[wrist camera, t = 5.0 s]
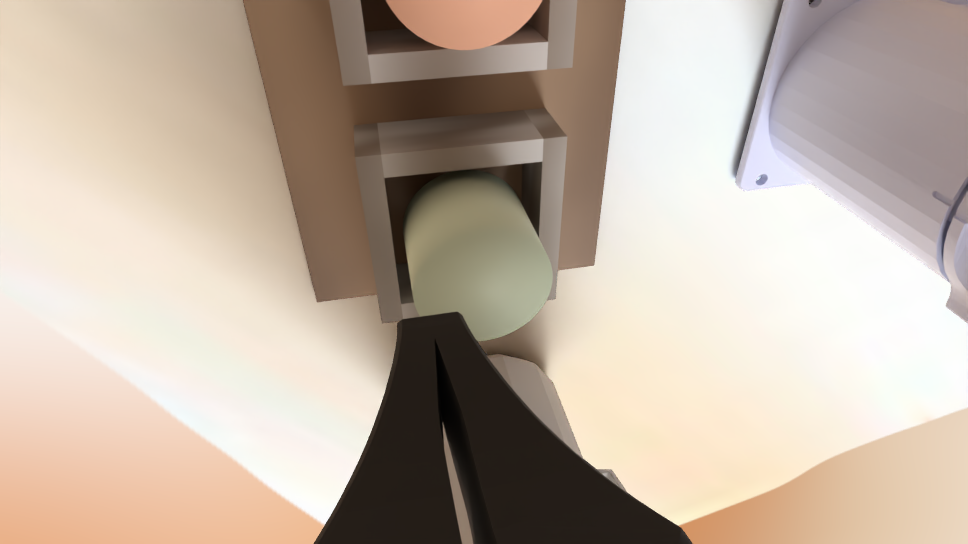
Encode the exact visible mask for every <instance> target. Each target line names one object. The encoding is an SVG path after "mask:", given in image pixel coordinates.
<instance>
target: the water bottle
mask: <svg viewBox="0 0 968 544" xmlns="http://www.w3.org/2000/svg"><path fill="white" fill-rule="evenodd" d="M487 357H488V358H489V359H490V361H491V362H492V363H493V365H494V366H495V367H496V369H497V370H498V371H499V373H500V374H501V375H502V377H503V378H504V379H505V380H506V382H507V383H508V384H509V385H510V386H511V388H512V389H513V390H514V391H515V392H516V394H517V395H518V396H519V397H520V398H521V399H522V400H523V402H524V403H525V404H526V405H527V406H528V407H529V408H530V409H531V410H532V411H533V412H534V414H535V415H536V416H537V417H538V418H539V419H540V420H541V421H542V422H543V423H544V424H545V425H546V426H547V427H548V428H549V429H550V430H551V431H552V432H554V433H555V434H556V435H557V436H558V437H559V438H560V439H561V440H562V441H563V442H564V443H565V444H567V445H568V446H569V447H570V448H571V449H572V450H573V451H574V452H576V453H577V454H578V455H579V456H580V457H582V455H581V452H580V450H579V447H578V445H577V442H576V440H575V437H574V434H573V432H572V429H571V427H570V424H569V422H568V419H567V417H566V414H565V412H564V409H563V406H562V404H561V401H560V399H559V396H558V394H557V391H556V389H555V386H554V384H553V382H552V381H551V380H550V379H549V378H548V377H547V376H546V374H545V373H544V372H543V371H542V370H541V369H540V368H539V367H538V366H537V365H536V364H535V363H533V362H530V361H527V360H523V359H519V358H515V357H510V356H506V355H502V354H494V355H488V356H487ZM443 436H444V451H445V457H446V462H447V467H448V473H449V478H450V483H451V489H452V494H453V499H454V504H455V510H456V515H457V520H458V525H459V530H460V535H461V540H462V544H473V540H472V534H471V529H470V524H469V520H468V516H467V511H466V507H465V504H464V500H463V496H462V493H461V489H460V485H459V481H458V478H457V474H456V470H455V467H454V463H453V459H452V455H451V452H450V448H449V444H448V440H447V437H446V433H445V429H444V425H443ZM582 458H583V457H582ZM597 470H598V471H599V472H600V473H602V474H603V475H604V476H605V477H607V478H608V479H609V480H610V481H612V482H613V483H615V484H616V485H617V486H619V487H620V488H621V489H623V490H624V491H626V490H625V488H624V487H623V485H622V484H621V482H620V481H619V480H618V478H617V477H616V475H615V474H614V472H613V471H612V470H607V469H597Z"/></svg>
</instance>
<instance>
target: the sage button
mask: <svg viewBox="0 0 968 544" xmlns="http://www.w3.org/2000/svg"><path fill="white" fill-rule="evenodd" d="M403 235H404V242H405V248H406V255H407V261H408V267H409V274H410V280H411V287H412V293H413V299H414V304H415V307H416V310H417V312H418V314H419V316H420V317H421V316H428V315H435V314H442V313H449V312H459V313H460V314H462V315H463V317H464V319H465V321H466V323H467V325H468V327H469V329H470V331H471V332H472V334H473V336H474V337H475V339H476V340H477V341H486V340H491V339H496V338H499V337H502V336H505V335H507V334H510V333H512V332H514V331H515V330H517V329H519V328H521V327H522V326H524V325H525V324H526V323H528V322H529V321H530V320H531V319H532V318H533V317H534V316H535V315H536V314H537V313H538V312H539V311H540V309H541V308H542V307H543V305H544V304H545V302H546V300H547V298H548V296H549V294H550V290H551V287H552V281H553V272H552V266H551V263H550V260H549V257H548V255H547V253H546V251H545V249H544V247H543V245H542V243H541V241H540V239H539V237H538V236H537V234H536V232H535V230H534V228H533V226H532V224H531V222H530V220H529V218H528V216H527V214H526V212H525V210H524V208H523V206H522V204H521V202H520V200H519V198H518V196H517V194H516V192H515V191H514V190H513V189H512V187H511V186H510V185H509V184H507V183H506V182H505V181H504V180H502V179H501V178H499V177H497V176H495V175H493V174H490V173H488V172H484V171H479V170H458V171H453V172H449V173H446V174H443V175H441V176H438V177H436V178H435V179H433V180H431V181H429V182H428V183H427V184H425V185H424V186H423V187H422V188H421V189H420V190H419V191H418V192H417V193H416V194H415V195H414V197H413V198H412V199H411V201H410V203H409V204H408V207H407V209H406V211H405V215H404V219H403Z"/></svg>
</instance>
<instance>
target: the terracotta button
mask: <svg viewBox="0 0 968 544" xmlns="http://www.w3.org/2000/svg"><path fill="white" fill-rule="evenodd" d="M542 1H543V0H386V2H387V3H388V5H389V7H390V8H391V10H392V11H393V12H394V14H395V15H396V16H397V18H398V19H399V20H400V21H401V22H402V23H403V24H404V25H405V26H406V27H407V28H408V29H409V30H411V31H412V32H413V33H414V34H416V35H417V36H419V37H420V38H422V39H424V40H425V41H427V42H430V43H432V44H434V45H437V46H440V47H444V48H447V49H454V50H474V49H481V48H484V47H488V46H492V45H494V44H496V43H498V42H501V41H503V40H504V39H506V38H508V37H509V36H511V35H513V34H514V33H515V32H516V31H518V30H519V29H520V28H521V27H522V26H523V25H524V24H525V23H526V22H527V21H528V20H529V19H530V18H531V17H532V15H533V14H534V13H535V12H536V10H537V9H538V7H539V6H540V4H541V2H542Z"/></svg>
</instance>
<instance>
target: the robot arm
mask: <svg viewBox="0 0 968 544" xmlns="http://www.w3.org/2000/svg"><path fill="white" fill-rule="evenodd" d="M760 175H762V176H761V178H760V179H759V180H757V178H758V177H759V176H760ZM756 180H757V181H756ZM735 183H736V185H737V186H738V187H739V188H740V189H741V190H743V191H753V190H761V189H770V188H778V187H786V186H795V185H803V184H812V185H814V186H815V187H816V188H818V189H819V190H821V191H822V192H823V193H825V194H826V195H828V196H829V197H830V198H832V199H833V200H835V201H836V202H837V203H839V204H840V205H842V206H843V207H844V208H846V209H847V210H849V211H850V212H851V213H853V214H854V215H856V216H857V217H858V218H860V219H861V220H863V221H864V222H865V223H867V224H868V225H870V226H871V227H872V228H874V229H875V230H877V231H878V232H879V233H881V234H882V235H884V236H885V237H886V238H888V239H889V240H891V241H892V242H893V243H895V244H896V245H898V246H899V247H900V248H902V249H903V250H905V251H906V252H907V253H909V254H910V255H912V256H913V257H914V258H916V259H917V260H919V261H920V262H921V263H923V264H924V265H926V266H927V267H928V268H930V269H931V270H933V271H934V272H935V273H937V274H938V275H940V276H941V277H942V278H944V279H945V280H947V281H948V282H949V283H950V284H951V292H950V296H949V299H948V301H947V303H946V307H947V308H948V309H950V310H951V311H952V312H954V313H955V314H956V315H957V316H959V317H960V318H961V319H963V320H964V321H965V322H967V323H968V0H814V1H813V2H812V3H811V4H810V5H809V0H784V1H783V5H782V9H781V13H780V16H779V20H778V24H777V27H776V31H775V35H774V38H773V42H772V46H771V50H770V53H769V57H768V61H767V64H766V68H765V72H764V76H763V79H762V83H761V87H760V90H759V94H758V98H757V101H756V105H755V109H754V113H753V116H752V120H751V124H750V127H749V131H748V135H747V138H746V142H745V146H744V150H743V153H742V157H741V161H740V164H739V168H738V172H737V176H736V181H735ZM443 425H444V429H445V433H446V437H447V440H448V444H449V448H450V452H451V455H452V459H453V463H454V467H455V470H456V474H457V478H458V481H459V485H460V489H461V493H462V496H463V500H464V504H465V507H466V511H467V516H468V520H469V524H470V529H471V534H472V540H473V544H692V542H691V541H690V539H689V538H688V536H687V535H686V534H685V532H684V531H683V530H682V528H680V527H679V526H677V525H676V524H674V523H673V522H671V521H669V520H668V519H666V518H665V517H663V516H661V515H660V514H658V513H657V512H655V511H653V510H652V509H650V508H649V507H647V506H646V505H644V504H643V503H641V502H640V501H638V500H637V499H635V498H634V497H633V496H631V495H630V494H628V493H627V492H626V491H624V490H623V489H621V488H620V487H619V486H617V485H616V484H615V483H613V482H612V481H610V480H609V479H608V478H607V477H605V476H604V475H603V474H602V473H600V472H599V471H598V470H597V469H595V468H594V467H593V466H592V465H590V464H589V463H588V462H587V461H585V460H584V459H583V458H582V457H580V456H579V455H578V454H577V453H576V452H574V451H573V450H572V449H571V448H570V447H569V446H568V445H567V444H565V443H564V442H563V441H562V440H561V439H560V438H559V437H558V436H557V435H556V434H555V433H554V432H552V431H551V430H550V429H549V428H548V427H547V426H546V425H545V424H544V423H543V422H542V421H541V420H540V419H539V418H538V417H537V416H536V415H535V414H534V412H533V411H532V410H531V409H530V408H529V407H528V406H527V405H526V404H525V403H524V402H523V400H522V399H521V398H520V397H519V396H518V395H517V394H516V392H515V391H514V390H513V389H512V388H511V386H510V385H509V384H508V383H507V382H506V380H505V379H504V378H503V377H502V375H501V374H500V373H499V371H498V370H497V369H496V367H495V366H494V365H493V363H492V362H491V361H490V359H489V358H488V357H487V355H486V354H485V352H484V351H483V349H482V348H481V346H480V345H479V343H478V342H477V340H476V339H475V337H474V336H473V334H472V332H471V331H470V329H469V327H468V325H467V323H466V321H465V319H464V317H463V315H462V314H460V313H459V312H449V313H442V314H435V315H428V316H421V317H414V318H407V319H402V320H401V321H400V322H399V323H398V324H397V342H396V348H395V354H394V359H393V364H392V368H391V372H390V375H389V379H388V383H387V387H386V390H385V394H384V397H383V400H382V403H381V406H380V409H379V411H378V414H377V417H376V420H375V423H374V426H373V428H372V431H371V433H370V436H369V438H368V441H367V443H366V446H365V448H364V450H363V453H362V455H361V457H360V459H359V462H358V464H357V466H356V468H355V470H354V472H353V474H352V476H351V478H350V480H349V482H348V484H347V486H346V488H345V490H344V492H343V494H342V496H341V498H340V500H339V502H338V503H337V505H336V507H335V509H334V511H333V512H332V514H331V516H330V518H329V519H328V521H327V522H326V524H325V526H324V528H323V529H322V531H321V533H320V534H319V536H318V537H317V539H316V541H315V542H314V544H462V540H461V535H460V530H459V525H458V520H457V515H456V510H455V504H454V499H453V494H452V489H451V483H450V478H449V473H448V467H447V462H446V457H445V451H444V436H443Z"/></svg>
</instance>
